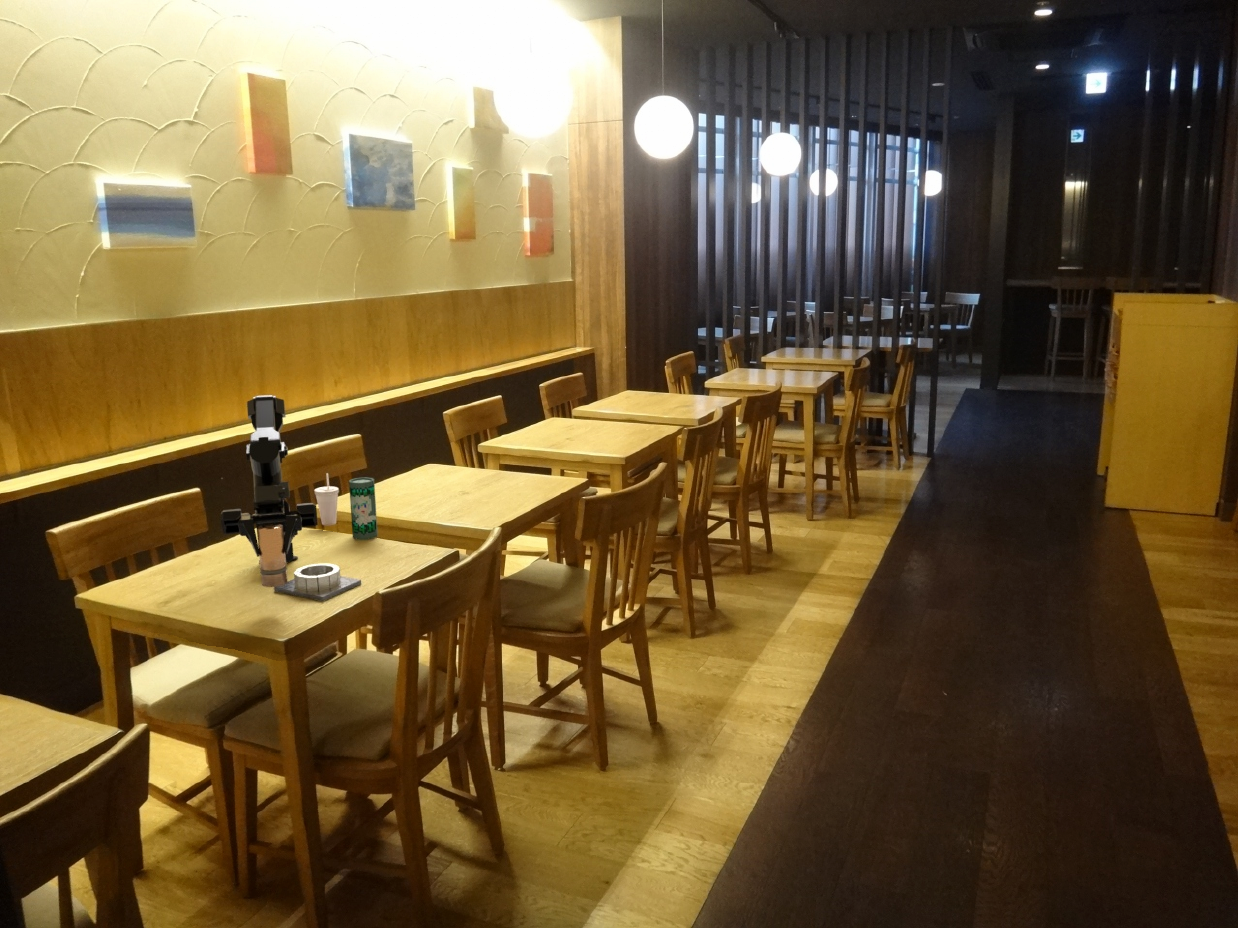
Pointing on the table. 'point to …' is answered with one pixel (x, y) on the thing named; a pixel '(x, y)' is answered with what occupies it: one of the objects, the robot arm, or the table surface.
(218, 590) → the table surface
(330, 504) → the smoothie
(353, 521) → the can
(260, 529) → the tan cylinder
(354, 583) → the plate
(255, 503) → the robot arm
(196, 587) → the table surface
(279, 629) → the table surface
